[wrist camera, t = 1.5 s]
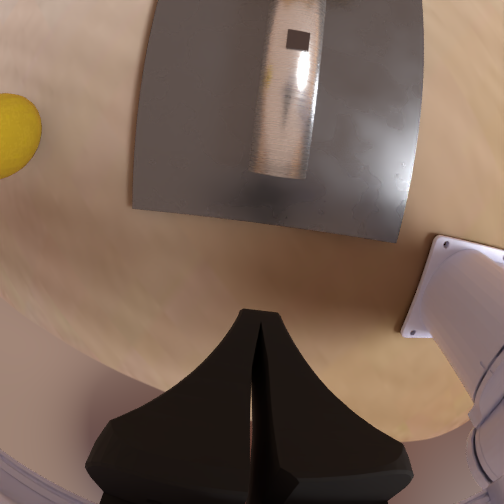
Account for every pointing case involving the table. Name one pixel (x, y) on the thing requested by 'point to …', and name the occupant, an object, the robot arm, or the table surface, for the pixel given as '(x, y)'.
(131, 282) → the table surface
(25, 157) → the lemon
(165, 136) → the plate
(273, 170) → the tube
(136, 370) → the table surface
